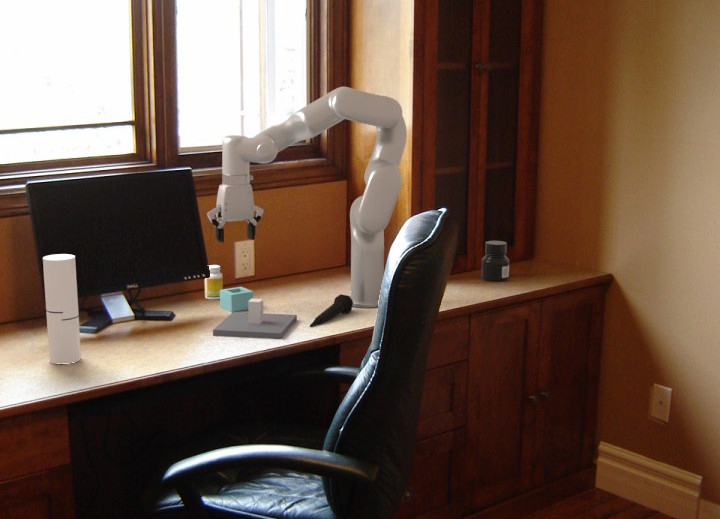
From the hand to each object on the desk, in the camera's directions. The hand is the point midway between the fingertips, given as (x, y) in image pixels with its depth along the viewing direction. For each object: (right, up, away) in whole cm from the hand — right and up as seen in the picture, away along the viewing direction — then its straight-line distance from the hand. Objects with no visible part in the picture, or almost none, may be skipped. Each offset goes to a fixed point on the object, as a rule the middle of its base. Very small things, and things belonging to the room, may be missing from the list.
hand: (235, 240), depth 273 cm
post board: (+8, -24, -16) cm, 30 cm away
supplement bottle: (-8, -17, +15) cm, 24 cm away
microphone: (+27, -22, -7) cm, 35 cm away
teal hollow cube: (0, -19, +4) cm, 20 cm away
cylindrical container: (-35, -30, -44) cm, 63 cm away
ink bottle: (+79, -12, +40) cm, 90 cm away
